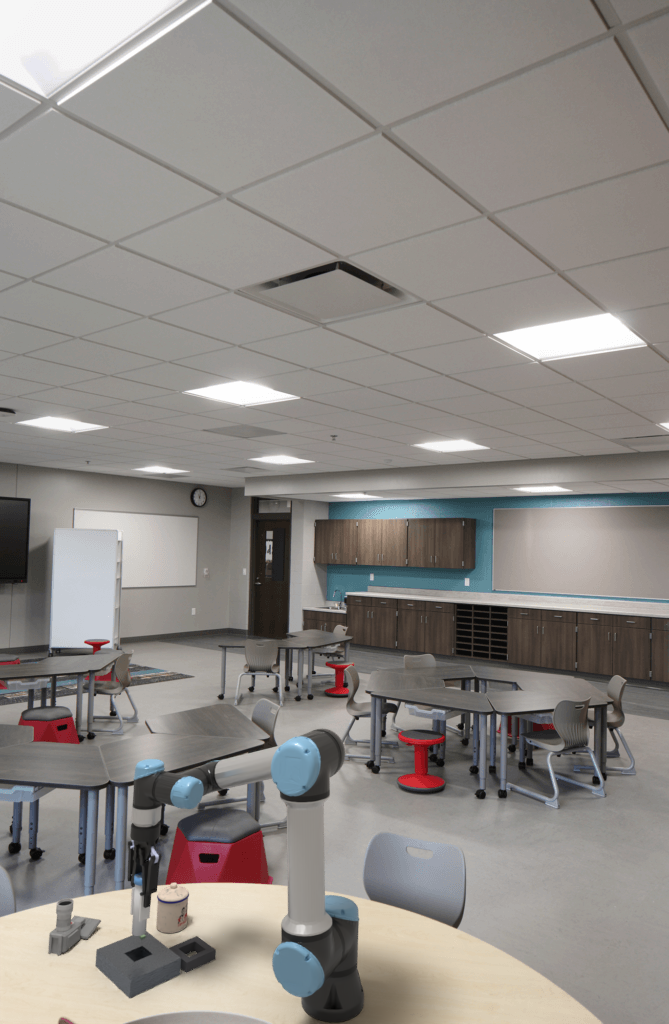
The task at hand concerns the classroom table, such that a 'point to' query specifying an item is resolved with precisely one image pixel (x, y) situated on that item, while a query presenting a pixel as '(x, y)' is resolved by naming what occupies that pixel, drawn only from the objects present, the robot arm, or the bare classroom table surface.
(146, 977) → the port panel
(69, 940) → the camera
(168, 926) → the teacup with lid
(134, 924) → the plug
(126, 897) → the classroom table surface
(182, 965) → the frame
